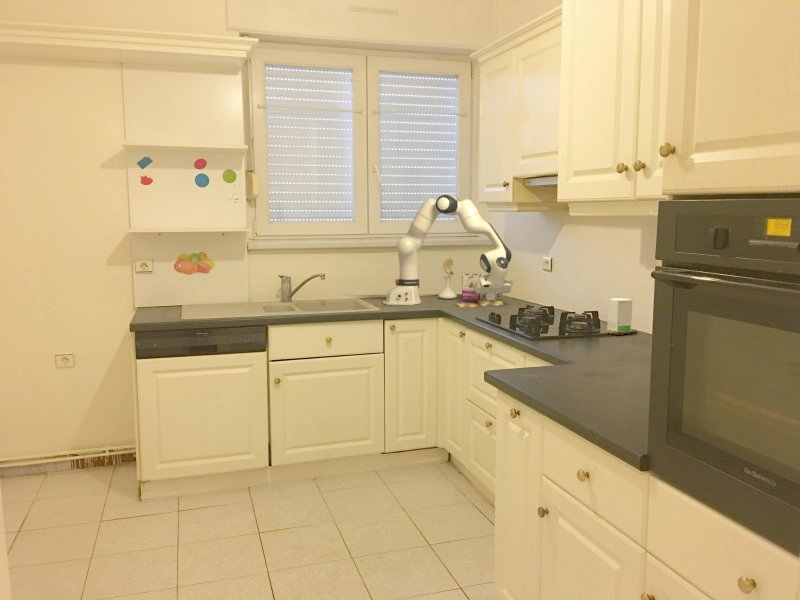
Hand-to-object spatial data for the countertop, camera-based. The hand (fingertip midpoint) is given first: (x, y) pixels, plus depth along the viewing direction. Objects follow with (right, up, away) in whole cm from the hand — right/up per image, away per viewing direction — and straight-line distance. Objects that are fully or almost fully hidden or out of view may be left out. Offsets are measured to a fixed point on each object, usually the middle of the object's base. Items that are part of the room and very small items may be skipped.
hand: (490, 296), depth 381 cm
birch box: (0, -5, +1) cm, 5 cm away
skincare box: (+43, -17, -92) cm, 103 cm away
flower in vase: (-22, -2, +28) cm, 36 cm away
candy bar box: (-9, -3, +19) cm, 21 cm away
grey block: (0, -5, +1) cm, 5 cm away
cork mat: (-14, -5, -2) cm, 15 cm away
